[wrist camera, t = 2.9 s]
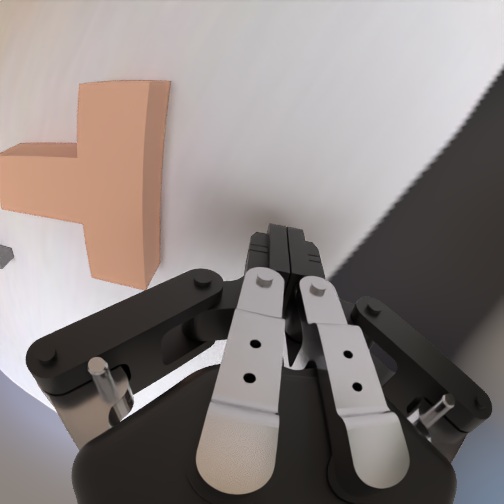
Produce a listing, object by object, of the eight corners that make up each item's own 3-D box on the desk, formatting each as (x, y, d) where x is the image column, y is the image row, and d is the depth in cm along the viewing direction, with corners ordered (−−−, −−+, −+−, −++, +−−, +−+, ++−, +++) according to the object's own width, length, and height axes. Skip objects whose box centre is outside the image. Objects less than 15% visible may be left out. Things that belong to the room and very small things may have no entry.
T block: (20, 91, 13) (-9, 98, 10) (170, 81, 13) (149, 81, 11) (34, 235, 19) (13, 255, 17) (160, 262, 20) (145, 290, 17)
